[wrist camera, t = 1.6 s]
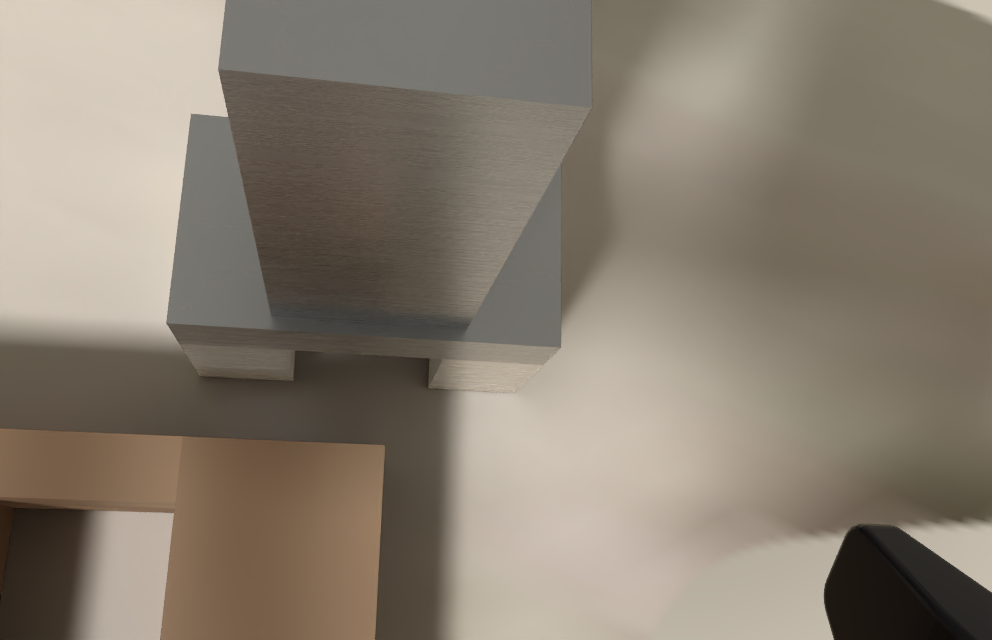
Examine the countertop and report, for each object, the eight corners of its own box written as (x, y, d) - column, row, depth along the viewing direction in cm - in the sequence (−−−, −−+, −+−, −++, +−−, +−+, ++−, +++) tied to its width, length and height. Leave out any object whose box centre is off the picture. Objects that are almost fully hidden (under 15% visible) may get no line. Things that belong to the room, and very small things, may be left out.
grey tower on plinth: (517, 230, 23) (743, -184, 10) (514, 393, 22) (763, 148, 9) (217, 205, 22) (72, -290, 9) (199, 375, 21) (7, 72, 8)
